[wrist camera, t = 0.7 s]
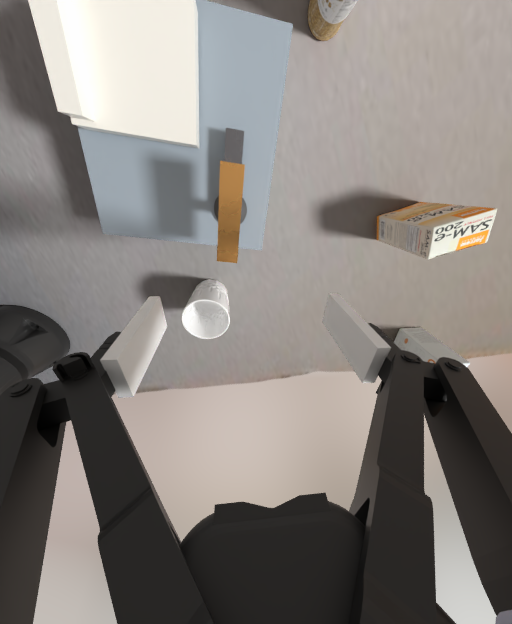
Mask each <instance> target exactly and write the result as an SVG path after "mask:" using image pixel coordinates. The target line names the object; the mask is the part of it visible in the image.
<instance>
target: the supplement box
mask: <svg viewBox="0 0 512 624" xmlns="http://www.w3.org/2000/svg"><path fill="white" fill-rule="evenodd" d="M496 212H497V208H486V207H474V206H463V205H450V204H439V203H427V202H420V203H416V204H413V205H410V206H408V207H405V208H402V209H399V210H396V211H393V212H389V213H385V214H382V215H379V216H377V240H379V241H381V242H384V243H387V244H389V245H392V246H394V247H397V248H400V249H402V250H405V251H407V252H410V253H412V254H415V255H418V256H420V257H423V258H425V259H432V258H435V257H439V256H442V255H446V254H449V253H453V252H456V251H459V250H463V249H466V248H470V247H473V246H476V245H480V244H484V243H486V242H487V241H488V237H489V234H490V231H491V228H492V225H493V222H494V219H495V215H496Z"/></svg>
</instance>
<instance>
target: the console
mask: <svg viewBox="0 0 512 624" xmlns="http://www.w3.org/2000/svg"><path fill="white" fill-rule="evenodd" d="M195 1H196V6H197V10H198V65H199V148H193V147H187V146H181V145H175V144H169V143H164V142H158V141H152V140H146V139H140V138H134V137H128V136H122V135H116V134H110V133H104V132H99V131H93V130H87V129H84V128H81V127H78V126H77V127H78V132H79V136H80V140H81V144H82V148H83V152H84V157H85V161H86V165H87V169H88V173H89V178H90V182H91V186H92V190H93V194H94V198H95V203H96V207H97V211H98V215H99V219H100V224H101V228H102V232H103V234H111V235H120V236H130V237H139V238H149V239H158V240H168V241H178V242H187V243H197V244H206V245H216V246H217V245H218V212H219V179H220V161H224V159H225V133H226V128H231V129H237V130H242V131H244V142H243V156H242V164H243V165H245V171H244V183H243V196H242V208H241V220H240V233H239V245H238V248H244V249H254V250H262V245H263V237H264V230H265V223H266V216H267V209H268V201H269V194H270V187H271V180H272V172H273V165H274V158H275V151H276V144H277V136H278V129H279V122H280V115H281V108H282V100H283V93H284V86H285V79H286V71H287V64H288V57H289V50H290V43H291V35H292V28H293V24H291V23H288V22H284V21H280V20H277V19H273V18H269V17H265V16H262V15H258V14H254V13H251V12H247V11H243V10H240V9H236V8H232V7H229V6H225V5H221V4H218V3H214V2H210V1H206V0H195Z"/></svg>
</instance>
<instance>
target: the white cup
mask: <svg viewBox="0 0 512 624" xmlns="http://www.w3.org/2000/svg"><path fill="white" fill-rule="evenodd" d="M182 323H183V326H184V327H185V329H186V330H187V331H188V332H189V333H190V334H192V335H194V336H196V337H198V338H203V339H212V338H216V337H218V336H220V335H222V334H223V333H224V332H225V331H226V330H227V329H228V327H229V323H230V315H229V300H228V295H227V289H226V288H225V286H224V285H223V284H222V283H220V282H219V281H217V280H211V279H208V280H204V281H202V282H200V283H199V284H198V285H197V286H196V288H195V290H194V292H193V293H192V295H191V297H190V298H189V300H188V302H187V304H186V306H185V308H184V310H183V313H182Z"/></svg>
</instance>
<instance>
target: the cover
mask: <svg viewBox="0 0 512 624" xmlns="http://www.w3.org/2000/svg"><path fill="white" fill-rule="evenodd" d="M28 1H29V5H30V9H31V13H32V16H33V20H34V24H35V28H36V31H37V35H38V39H39V43H40V46H41V50H42V54H43V57H44V61H45V65H46V69H47V72H48V76H49V80H50V84H51V87H52V91H53V95H54V99H55V102H56V106H57V110H58V112H60V113H63V114H65V115H67V116H70V118H71V122H72V124H73V125H76V126H78V127H81V128H84V129H87V130H93V131H99V132H104V133H110V134H116V135H122V136H128V137H134V138H140V139H146V140H152V141H158V142H164V143H169V144H175V145H181V146H187V147H193V148H199V65H198V10H197V6H196V1H195V0H28Z"/></svg>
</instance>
